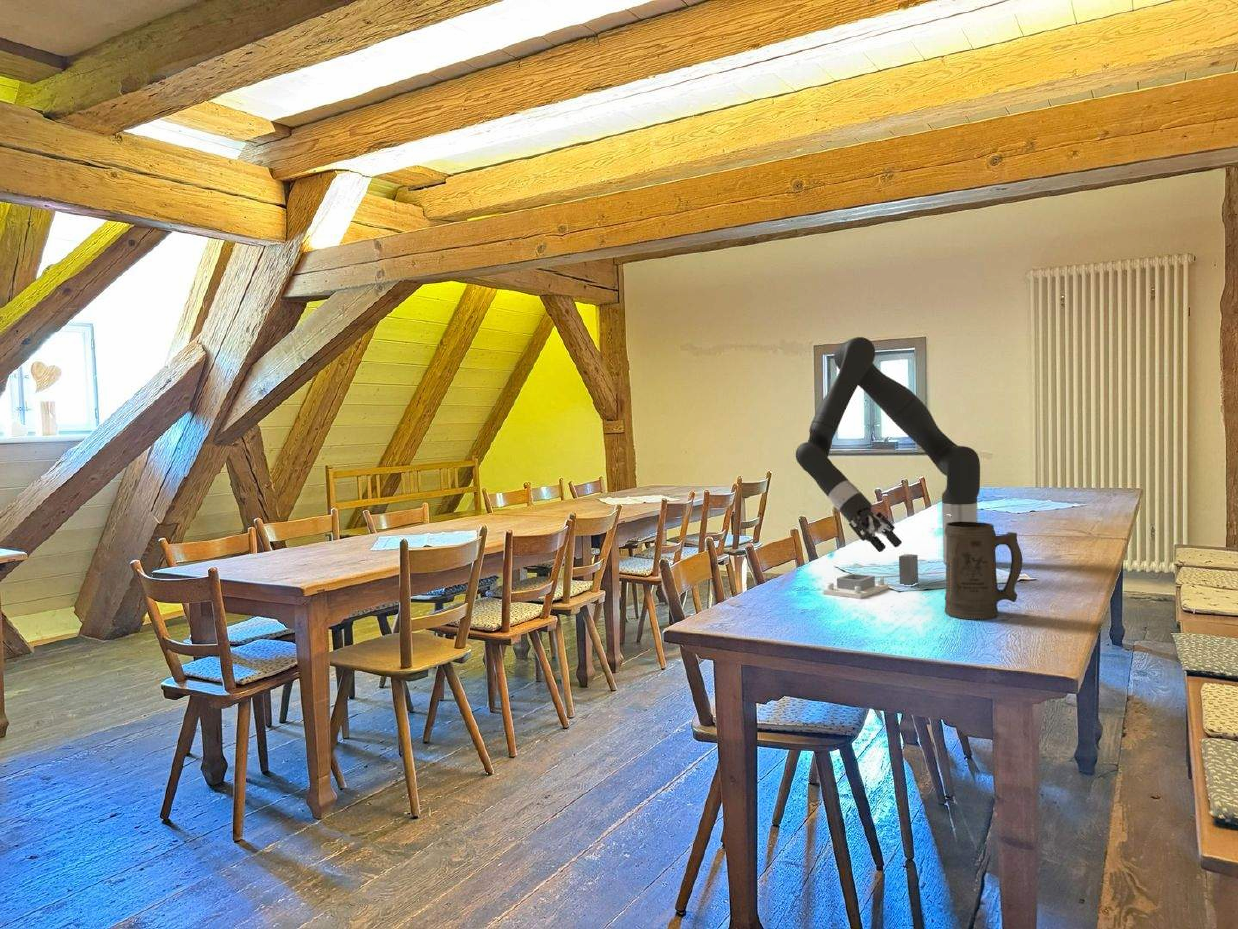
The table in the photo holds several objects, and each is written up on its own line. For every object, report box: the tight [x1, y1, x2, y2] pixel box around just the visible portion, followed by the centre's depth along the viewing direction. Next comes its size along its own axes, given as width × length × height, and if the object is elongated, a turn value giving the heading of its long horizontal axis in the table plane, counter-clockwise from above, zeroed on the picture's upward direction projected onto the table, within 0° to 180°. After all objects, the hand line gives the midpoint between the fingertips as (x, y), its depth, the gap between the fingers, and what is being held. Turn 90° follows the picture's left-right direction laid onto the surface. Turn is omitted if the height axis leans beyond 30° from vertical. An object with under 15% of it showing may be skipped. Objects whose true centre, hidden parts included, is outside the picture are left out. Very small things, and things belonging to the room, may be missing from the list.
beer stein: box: [944, 521, 1023, 620], centre depth 180 cm, size 15×11×20 cm
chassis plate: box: [822, 573, 890, 600], centre depth 208 cm, size 14×10×4 cm
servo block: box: [898, 553, 919, 585], centre depth 213 cm, size 4×3×8 cm
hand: (891, 547), depth 216 cm, fingers open, 8 cm apart
